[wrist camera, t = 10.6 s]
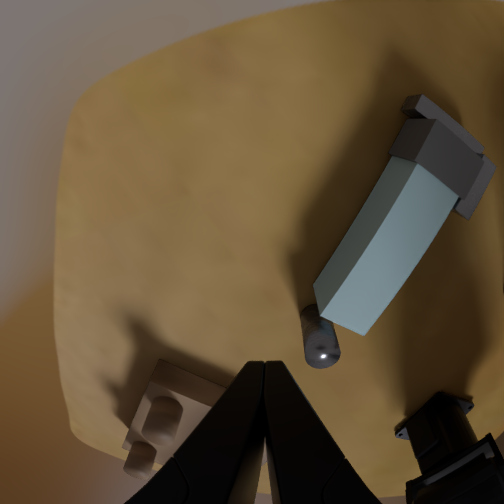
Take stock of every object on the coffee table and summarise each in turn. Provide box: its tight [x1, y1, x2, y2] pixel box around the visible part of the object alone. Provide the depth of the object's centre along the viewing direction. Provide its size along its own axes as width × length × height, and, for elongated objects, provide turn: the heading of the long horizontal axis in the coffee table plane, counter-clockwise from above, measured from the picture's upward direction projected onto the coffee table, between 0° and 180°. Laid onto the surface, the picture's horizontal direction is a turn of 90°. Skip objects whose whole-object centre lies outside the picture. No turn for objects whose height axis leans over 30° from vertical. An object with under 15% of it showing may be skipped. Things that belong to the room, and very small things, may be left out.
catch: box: [401, 94, 496, 220], centre depth 15 cm, size 6×4×3 cm
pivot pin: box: [300, 304, 341, 369], centre depth 19 cm, size 2×2×4 cm
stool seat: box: [122, 359, 267, 480], centre depth 23 cm, size 12×12×6 cm
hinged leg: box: [313, 119, 484, 336], centre depth 16 cm, size 12×4×4 cm, turn 153°
